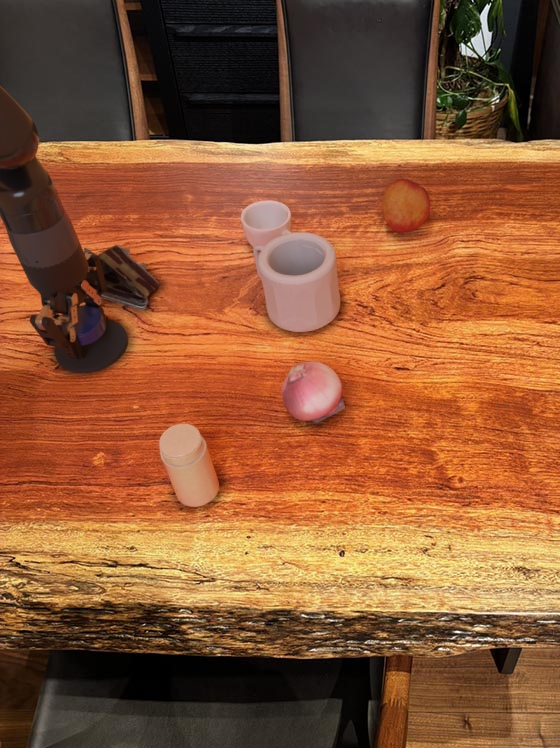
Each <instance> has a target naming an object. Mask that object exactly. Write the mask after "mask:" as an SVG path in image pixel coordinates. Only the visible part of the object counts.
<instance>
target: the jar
mask: <svg viewBox="0 0 560 748" xmlns="http://www.w3.org/2000/svg"><path fill="white" fill-rule="evenodd" d="M158 446H159V447H158V448H159V452H160V453H159V454H160V459H161V461H162V465H163V466H164V469H165V472H166V473H167V477H168V478H169V481H170V484H171V486H172V488H173V491H174V493H175V496H176V498H177V500H178V501H179V502H180V503H181V504H182V505H184V506H187V507H189V508H190V507H191V508H195V507H196V508H197V507H201V506H204V505H208V503H210V502H211V501H213V499H214V498H216V496H217V495H218V493H219V489H220V482H219V478H218V475H217V471H216V469H215V466H214V463H213V461H212V457H211V453H210V450H209V448H208V444H207V442H206V440H205V438H204V437H203V435H202V434H201V432H200V430H199V429H198V428H197V427H196V426H195V425H193V424H189V423H177V424H174V425H171V426H169V427H168V428H167V429H165V430H164V431H163V433H162V434H161V436H160V437H159V442H158Z"/></svg>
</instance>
